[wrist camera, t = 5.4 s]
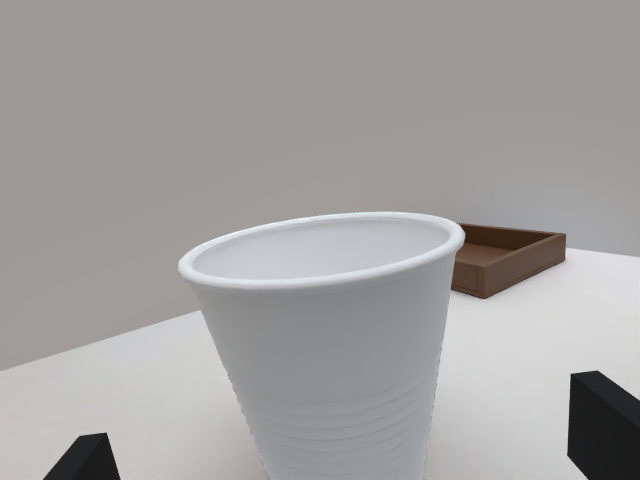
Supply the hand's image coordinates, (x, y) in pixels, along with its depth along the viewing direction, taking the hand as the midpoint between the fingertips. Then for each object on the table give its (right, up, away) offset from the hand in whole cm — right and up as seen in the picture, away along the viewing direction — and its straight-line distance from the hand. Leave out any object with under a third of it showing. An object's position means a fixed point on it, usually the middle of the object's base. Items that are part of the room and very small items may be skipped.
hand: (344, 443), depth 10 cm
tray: (+16, +3, +31) cm, 35 cm away
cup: (+1, -5, +5) cm, 7 cm away
